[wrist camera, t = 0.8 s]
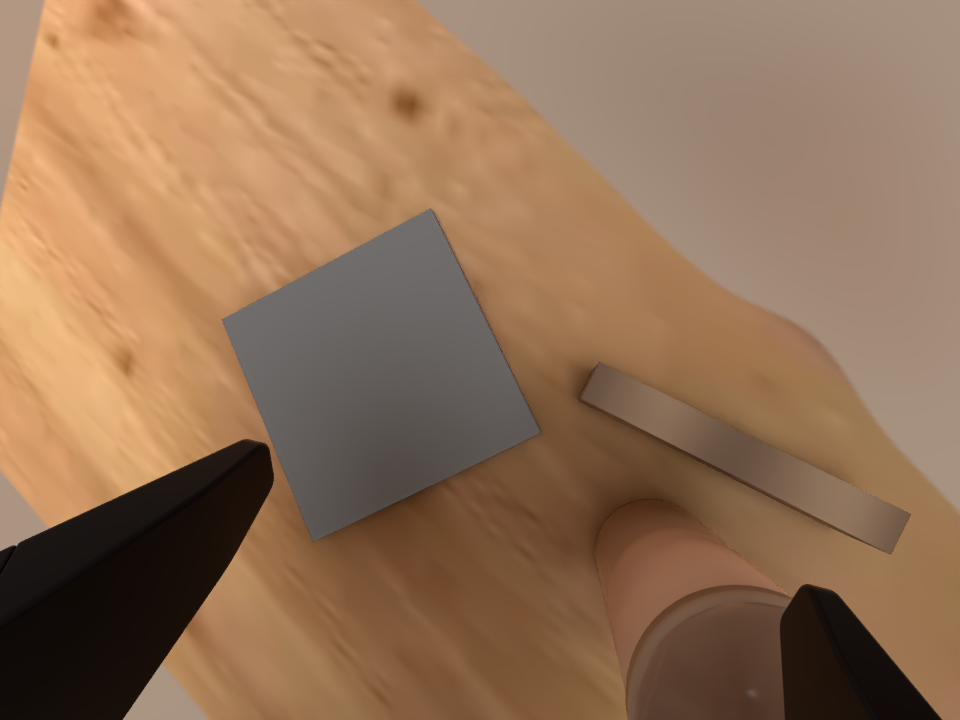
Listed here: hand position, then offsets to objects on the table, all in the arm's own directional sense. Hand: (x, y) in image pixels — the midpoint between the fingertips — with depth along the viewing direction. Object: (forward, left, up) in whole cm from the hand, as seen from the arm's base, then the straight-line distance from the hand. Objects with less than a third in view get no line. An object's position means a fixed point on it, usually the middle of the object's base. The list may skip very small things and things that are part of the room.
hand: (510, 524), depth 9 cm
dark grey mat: (+7, +6, -16) cm, 19 cm away
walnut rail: (-3, -7, -16) cm, 18 cm away
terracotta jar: (-6, -2, -16) cm, 18 cm away
